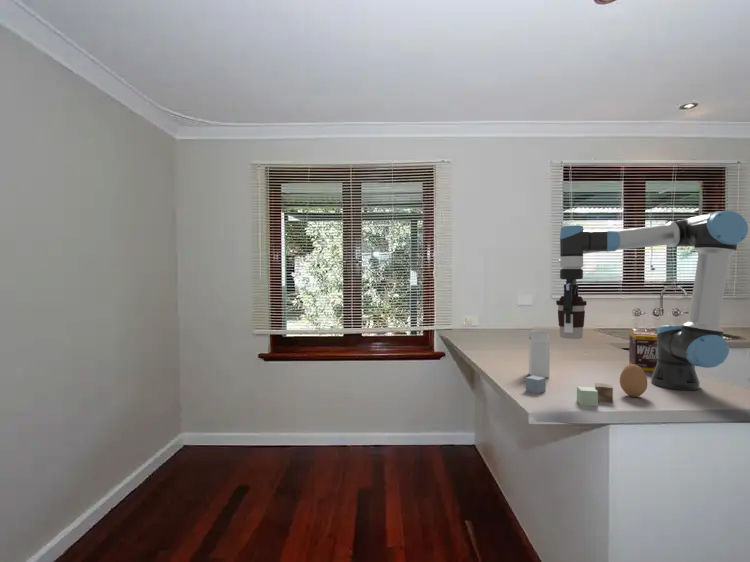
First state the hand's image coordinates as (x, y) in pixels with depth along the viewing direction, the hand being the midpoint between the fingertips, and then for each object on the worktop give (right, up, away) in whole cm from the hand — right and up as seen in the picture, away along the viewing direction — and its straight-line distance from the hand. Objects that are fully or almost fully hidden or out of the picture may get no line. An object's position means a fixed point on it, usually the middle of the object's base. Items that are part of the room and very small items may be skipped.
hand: (571, 330), depth 155 cm
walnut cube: (+7, -23, -8) cm, 25 cm away
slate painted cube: (-12, -22, +3) cm, 26 cm away
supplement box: (+52, -22, +40) cm, 69 cm away
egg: (+20, -23, -5) cm, 30 cm away
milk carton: (-2, -22, +26) cm, 34 cm away
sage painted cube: (-1, -23, -13) cm, 26 cm away
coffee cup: (0, -3, 0) cm, 3 cm away
